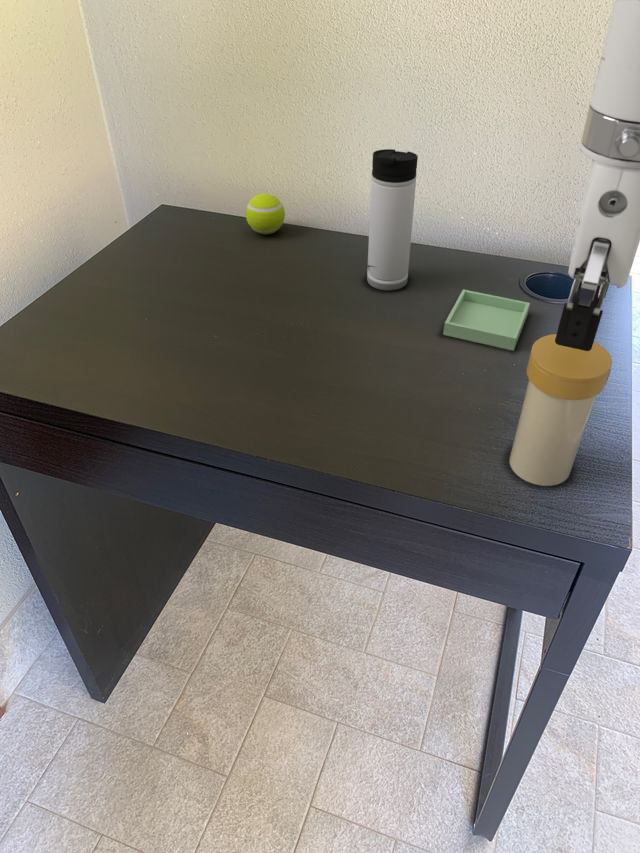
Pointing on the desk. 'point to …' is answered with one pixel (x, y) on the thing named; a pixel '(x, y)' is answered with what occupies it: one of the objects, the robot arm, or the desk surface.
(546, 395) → the jar
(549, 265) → the desk surface
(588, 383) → the lid
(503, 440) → the desk surface
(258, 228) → the tennis ball
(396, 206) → the travel mug
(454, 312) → the tray
